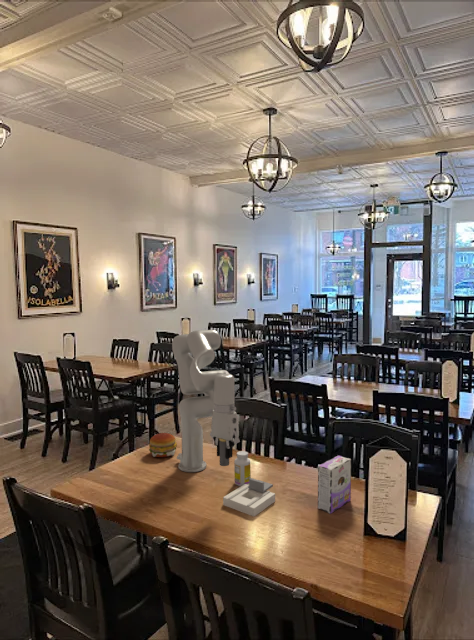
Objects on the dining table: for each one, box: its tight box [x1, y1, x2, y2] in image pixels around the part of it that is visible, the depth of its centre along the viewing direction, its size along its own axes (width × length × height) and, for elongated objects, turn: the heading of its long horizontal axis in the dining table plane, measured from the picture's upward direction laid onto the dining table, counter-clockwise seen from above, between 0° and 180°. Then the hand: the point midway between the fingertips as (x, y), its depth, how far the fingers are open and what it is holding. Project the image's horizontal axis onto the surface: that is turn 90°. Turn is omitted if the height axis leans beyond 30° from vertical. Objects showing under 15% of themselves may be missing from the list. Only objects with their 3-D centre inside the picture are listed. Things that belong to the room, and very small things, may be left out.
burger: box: [148, 432, 178, 458], centre depth 214 cm, size 13×14×10 cm
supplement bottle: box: [233, 450, 252, 487], centre depth 182 cm, size 7×7×13 cm
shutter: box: [248, 477, 274, 493], centre depth 171 cm, size 7×7×4 cm
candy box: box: [317, 455, 352, 514], centre depth 164 cm, size 14×6×16 cm, turn 134°
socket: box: [222, 484, 276, 517], centre depth 166 cm, size 14×14×3 cm
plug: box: [219, 438, 230, 467], centre depth 163 cm, size 4×4×10 cm
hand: (224, 456), depth 164 cm, fingers closed on plug, 3 cm apart
